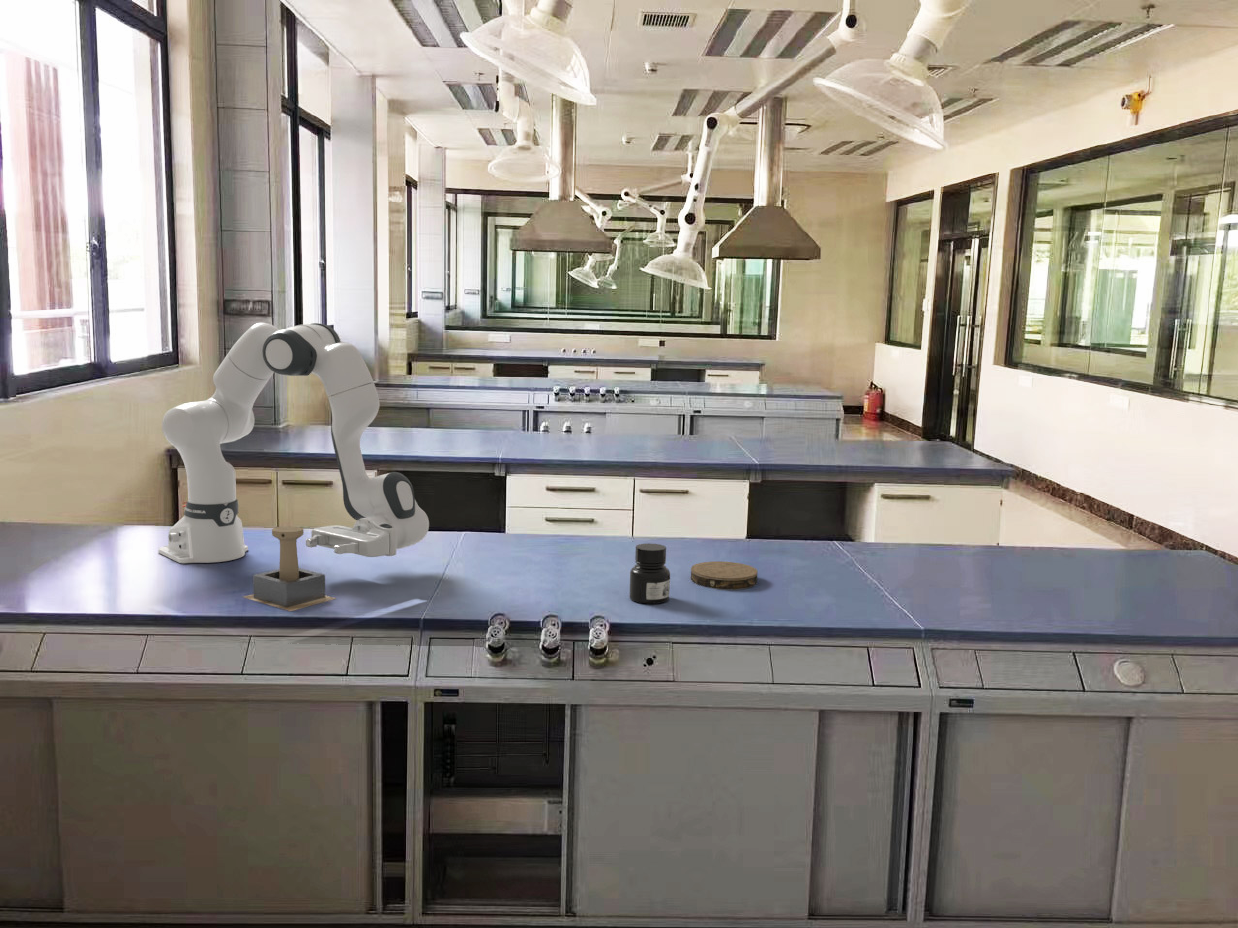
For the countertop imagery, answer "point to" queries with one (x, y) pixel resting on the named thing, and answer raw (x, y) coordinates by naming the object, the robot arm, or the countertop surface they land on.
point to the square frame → (289, 588)
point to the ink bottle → (650, 575)
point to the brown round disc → (724, 575)
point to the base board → (292, 608)
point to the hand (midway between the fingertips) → (321, 546)
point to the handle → (288, 551)
